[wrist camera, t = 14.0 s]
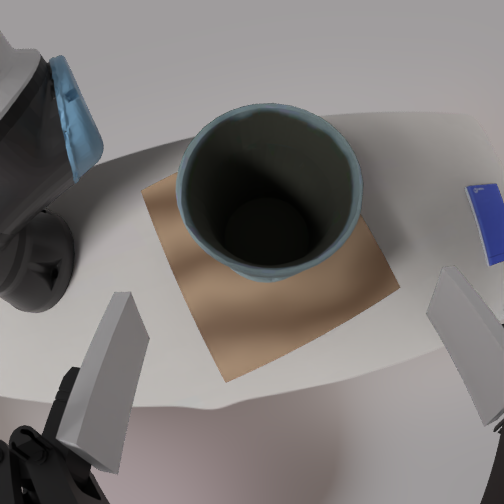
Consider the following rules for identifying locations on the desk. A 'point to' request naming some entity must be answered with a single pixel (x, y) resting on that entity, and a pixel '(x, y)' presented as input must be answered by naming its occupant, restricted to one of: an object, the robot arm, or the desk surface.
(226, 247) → the teal plant pot
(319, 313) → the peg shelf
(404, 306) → the desk surface
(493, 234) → the hard drive
